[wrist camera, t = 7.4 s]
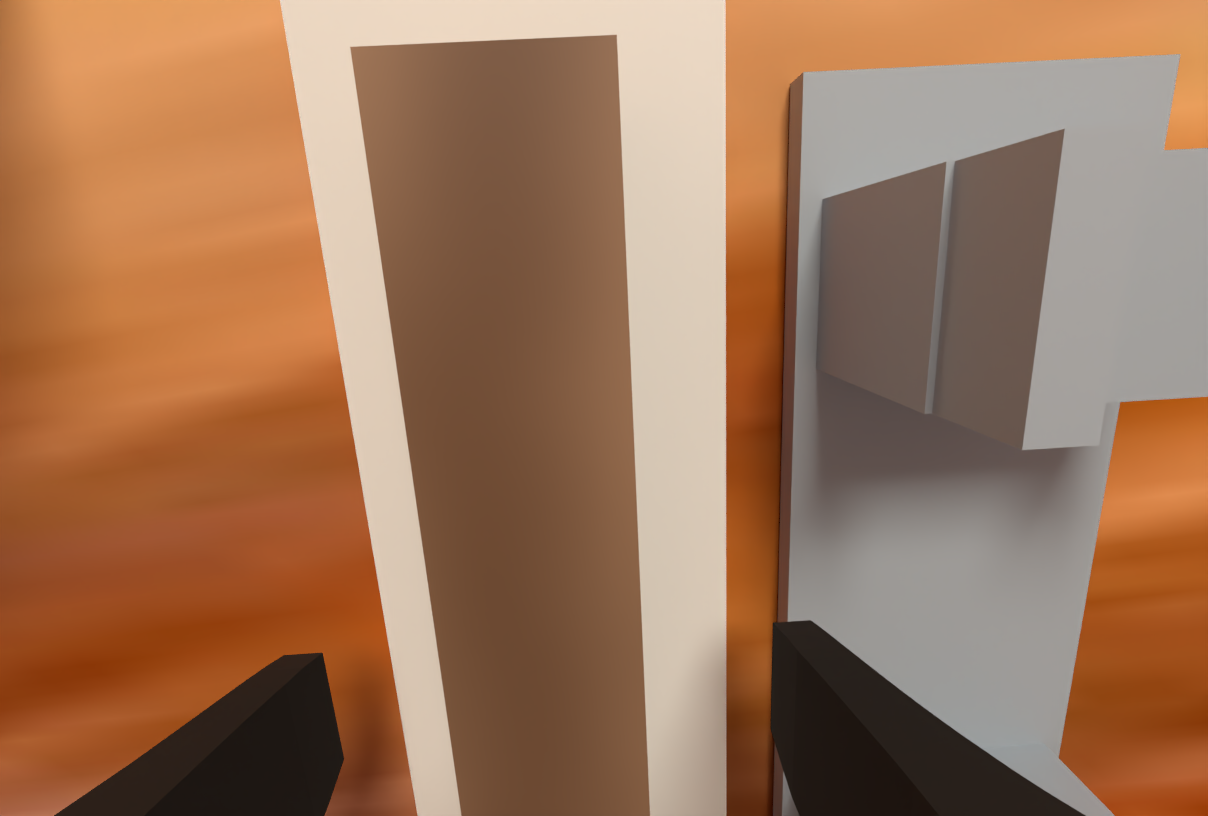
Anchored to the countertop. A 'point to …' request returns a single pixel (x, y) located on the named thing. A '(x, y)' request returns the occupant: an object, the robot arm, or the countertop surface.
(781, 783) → the rack
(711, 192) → the mat
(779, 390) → the countertop surface
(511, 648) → the rail
